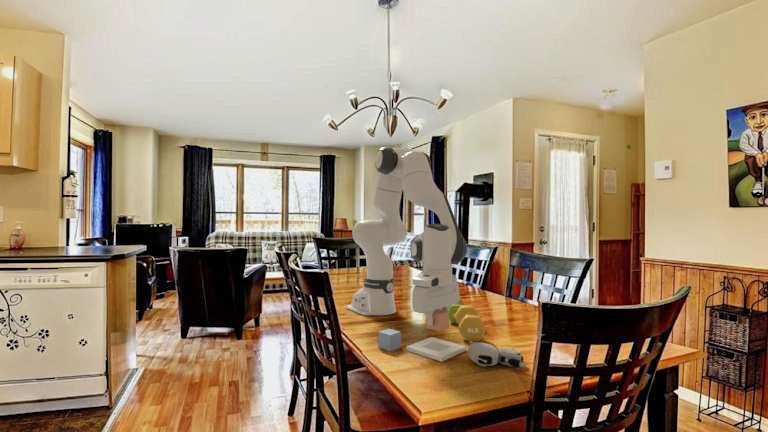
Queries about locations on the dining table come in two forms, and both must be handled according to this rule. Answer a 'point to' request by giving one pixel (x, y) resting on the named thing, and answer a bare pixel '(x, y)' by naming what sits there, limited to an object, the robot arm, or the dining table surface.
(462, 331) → the dumbbell
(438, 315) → the brick terracotta
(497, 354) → the robot toy
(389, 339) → the brick blue
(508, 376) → the dining table surface
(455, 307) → the dumbbell
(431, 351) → the plate
